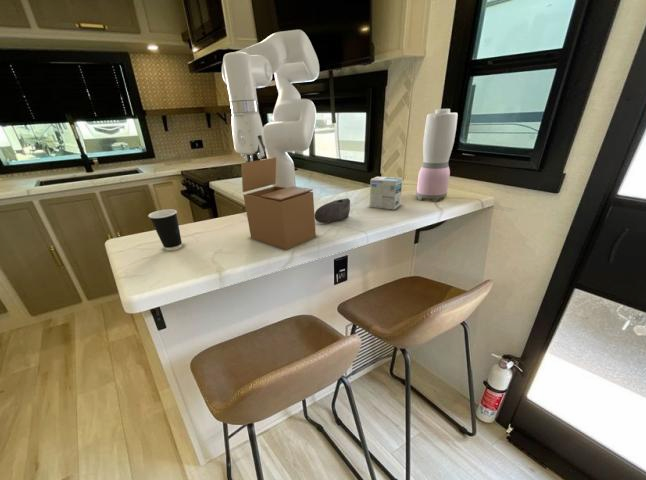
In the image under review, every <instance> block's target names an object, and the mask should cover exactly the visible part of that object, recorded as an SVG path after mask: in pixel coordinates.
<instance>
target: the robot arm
mask: <svg viewBox="0 0 646 480" xmlns="http://www.w3.org/2000/svg"><path fill="white" fill-rule="evenodd" d="M273 75H274V81H275V85H276V89H277V93H278V95H277V99H276V102H275V105H274V108H273V112H272V121H270V122H268V123H266V124H264V125H263V122H262V117H261V114H260V111H259V110H260V109H259V101H258V95H257V89H261V88H265V87H268V86H269V85H270V84H271V82H272V80H273ZM319 75H320V63H319V59H318V55H317V53H316V51H315V49H314V46H313V45H312V42H311V40H310V39H309V36H308V35H307V34H306V32H304V31H303V30H302V29H292V30H284V31H277V32H274V33H272V34H270V35H269V36H267V37H266V38H265V39H263V40H262V41H260V42H257V43H255V44H252V45H250V46H247V47H245V48H242V49H239V50H236V51H233V52H232V51H231V52H228V53H225V54H224V55H223V58H222V64H221V76H222V79H223V82H224V83H225V85H226V87H227V93H228V99H229V104H230V109H231V132H232V141H233V147H234V151H235V152H236V153H237V154H239V156H240V157H241V158H243V159H244V160H245V163H247V162H252V161H257V160H262V159H264V158H265V157H266V159H268V158H273V157H276V182H275V184H273V185H270V187H273V186H279V187H285V188H288V187H292V186H295V187H297V184H296V173H295V163H294V161H293V159H292V157H291V156H290V155H289V154H288V153H291V152H292V153H293V152H305V151H307V150H308V149H309V148H310V146H311V143H312V139H313V136H314V131H315V127H316V122H317V109H316V105H315V104H314V102H313V101H312V100H311V99H308V98H301V93H300V92H299V91H298V89H297V88H296V87H295V86H294V85H293V84H296V83H308V82H314V81H315V80H317V79H318V78H319ZM265 155H266V156H265Z"/></svg>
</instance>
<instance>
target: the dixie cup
mask: <svg viewBox="0 0 646 480" xmlns="http://www.w3.org/2000/svg"><path fill="white" fill-rule="evenodd" d="M177 213H178V211H177V210H176V209H171V208H168V209H160V210H156V211H153V212H150V213H149V214H148V215H147V217H148V218H149V219H150V221H151V223H152V225H153V228H154V229H155V231H156V233H157V236H158V237H159V240H160V243H161V244H162V246H163V248H164V249H165V250H166V251H176V250H179V249H181V248H182V246H183V245H182V243H183V242H182V237H181V233H180V232H181V231H180V225H179V220H178V214H177Z"/></svg>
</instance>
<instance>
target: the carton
mask: <svg viewBox="0 0 646 480" xmlns="http://www.w3.org/2000/svg"><path fill="white" fill-rule="evenodd" d="M313 191H314V190H313V188H308V187H301V186H296V187H295V186H292V187H288V188H285V187H279V186H273V187H271V186H270V187H269V186H268V187H267V188H266V187H265V188H261V189H257V190H255V191H251V192H247V193H244V194H243V195H242V196H243V201H244V206H245V212H246V218H247V222H248V229H249V234H250V238H251V239H253V240H256V241H258V242H261V243H265V244H268V245H271V246H273V247H277V248H280V249H282V250H286V251H287V250H290V249H292V248H294V247H296V246H298V245H300V244H303V243H305V242H307V241H310V240H311V239H314V238H316V236H317V233H316V231H317V230H316V219H315V203H314V202H315V201H314V192H313Z"/></svg>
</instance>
